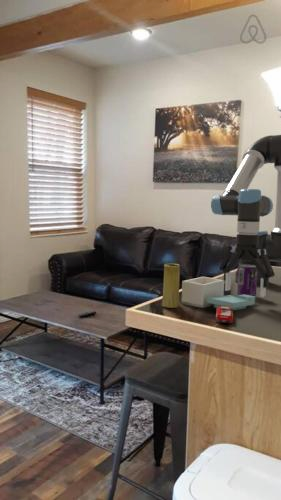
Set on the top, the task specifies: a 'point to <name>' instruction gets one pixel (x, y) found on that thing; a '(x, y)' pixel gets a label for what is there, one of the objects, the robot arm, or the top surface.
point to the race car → (224, 315)
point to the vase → (171, 286)
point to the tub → (201, 291)
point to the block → (232, 301)
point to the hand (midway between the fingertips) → (244, 293)
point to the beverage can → (247, 280)
